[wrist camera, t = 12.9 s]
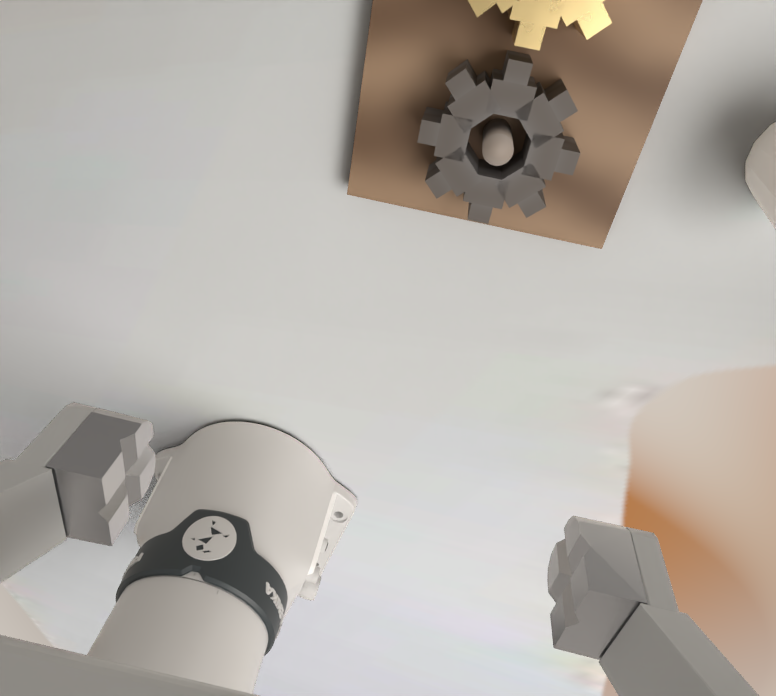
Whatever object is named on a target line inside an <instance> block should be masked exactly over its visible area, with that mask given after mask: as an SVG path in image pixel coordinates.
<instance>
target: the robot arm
mask: <svg viewBox="0 0 776 696" xmlns="http://www.w3.org/2000/svg"><path fill="white" fill-rule="evenodd" d="M153 436H154V433H153V425H152V422H150V421H148V420H144V419H140V418H136V417H132V416H128V415H124V414H120V413H116V412H112V411H109V410H105V409H101V408H95V407H91V406H87V405H83V404H79V403H75V402H73V403H71V404H69V405H67V406H65V407H64V408H63V409H62V410H61V411H60V412H59V413H58V415H57V416H56V417H55V418H54V419H53V420H52V421H51V422H50V423H49V424H48V425H47V426H46V427H45V429H44V430H43V431H42V432H41V433H40V434H39V435H38V436H37V437H36V438H35V439H34V440H33V441H32V443H31V444H30V445H29V446H28V447H27V448H26V449H25V450H24V451H23V452H22V453H21V454H20V455H19V456H18V458H17V459H16V460H10V459H6V460H3V461H1V462H0V583H1V582H3V581H4V580H6V579H7V578H9V577H10V576H12V575H14V574H15V573H17V572H18V571H20V570H21V569H23V568H24V567H26V566H27V565H29V564H30V563H32V562H33V561H35V560H37V559H38V558H40V557H41V556H43V555H44V554H46V553H47V552H49V551H50V550H52V549H53V548H55V547H56V546H58V545H60V544H61V543H63V542H64V541H66V540H67V538H66V537H69V538H74V539H79V540H84V541H89V542H94V543H99V544H104V545H108V546H112V545H113V544H114V542H115V541H116V539H117V537H118V536H119V534H120V533H121V531H122V530H123V528H124V526H125V525H126V523H127V522H128V520H129V519H130V513H129V506H130V505H132V504H134V503H136V502H138V501H140V500H141V499H142V498H143V496H144V495H145V493H146V491H147V490H148V488H149V485H150V483H151V480H152V477H153V475H154V474H155V477H156V480H157V484H156V486H155V487H154V489H153V491H152V493H151V495H150V497H149V499H148V501H147V503H146V505H145V507H144V509H143V511H142V513H141V515H140V517H139V519H138V520H137V523H136V525H135V528H134V533H135V534H136V535H137V542H138V544H139V546H140V549H139V551H138V553H137V554H136V556H135V558H134V559H133V560H132V561H131V563H130V564H129V566H128V567H127V569H126V571H125V573H124V575H123V578H122V582H121V584H120V586H119V588H118V590H117V593H116V605H115V606H114V608H113V610H112V612H111V613H110V615H109V617H108V619H107V620H106V622H105V624H104V626H103V627H102V629H101V631H100V633H99V635H98V636H97V638H96V640H95V642H94V643H93V645H92V647H91V649H90V650H89V652H88V654H87V655H84V654H80V653H75V652H71V651H67V650H63V649H58V648H54V647H50V646H45V645H41V644H37V643H32V642H28V641H24V640H20V639H15V638H11V637H7V636H3V635H0V696H259V695H255V694H253V691H254V688H255V684H256V681H257V677H258V674H259V670H260V667H261V664H262V661H263V657H264V656H265V655H266V654H267V653H268V652H269V651H270V649H271V648H272V646H273V644H274V641H275V639H276V638H277V636H278V634H279V632H280V629H281V626H282V623H283V619H284V617H285V616H286V614H287V613H288V611H289V609H290V607H291V606H292V604H293V602H294V600H295V599H296V597H297V596H298V595H299V597H302V598H304V599H307V600H310V601H312V600H314V599H315V596H316V594H317V591H318V588H319V584H320V581H321V574H322V572H323V570H324V568H325V566H326V564H327V563H328V561H329V559H330V557H331V555H332V553H333V551H334V549H335V548H336V546H337V544H338V542H339V540H340V538H341V536H342V534H343V533H344V531H345V529H346V527H347V525H348V523H349V521H350V519H351V518H352V516H353V514H354V512H355V509H356V506H357V499H356V497H355V496H354V495H353V494H352V493H351V492H350V491H348V490H347V489H346V488H344V487H343V486H342V485H340V484H339V483H337V482H336V481H335V480H334V479H333V478H332V476H331V475H330V473H329V472H328V470H327V469H326V467H325V466H324V464H323V463H322V462H321V460H320V459H319V458H318V457H317V456H316V455H315V454H314V453H313V452H312V451H311V450H310V449H309V448H308V447H306V446H305V445H304V444H302V443H301V442H300V441H298V440H296V439H295V438H293V437H291V436H290V435H288V434H286V433H283V432H281V431H279V430H276V429H274V428H271V427H268V426H264V425H260V424H255V423H249V422H222V423H217V424H213V425H209V426H207V427H204V428H202V429H200V430H198V431H197V432H195V433H194V434H193V435H191V436H190V437H189V438H188V439H187V440H186V441H185V442H184V443H183V444H181V445H179V446H177V447H173V448H169V449H165V450H162V451H160V452H158V453H157V454H156V456H155V452H154V450H153V449H152V448H151V447H150V445H149V442H150V441H151V439H152V438H153ZM564 532H565V539H564V540H562V541H560V542H558V543H556V545H555V547H554V549H553V551H552V554H551V557H550V561H549V566H548V579H547V581H548V592H549V594H550V595H551V597H552V598H553V599H554V601H555V602H556V605H555V607H554V608H553V610H552V612H551V614H550V616H551V626H552V636H553V647H554V648H556V649H560V650H564V651H567V652H571V653H575V654H579V655H583V656H587V657H591V658H594V659H598V660H600V661H599V663H600V665H601V667H602V668H603V670H604V672H605V674H606V675H607V677H608V679H609V680H610V682H611V684H612V685H613V687H614V688H615V690H616V692H617V694H618V695H619V696H759V695H758V694H757V693H756V691H755V690H754V689H753V688H752V687H751V686H750V685H749V684H748V682H747V681H746V680H745V679H744V678H743V677H742V676H741V674H739V672H738V671H737V670H736V669H735V668H734V667H733V665H732V664H731V663H730V662H729V661H728V660H727V659H726V657H725V656H724V655H723V654H722V653H721V652H720V651H719V650H718V649H717V647H716V646H715V645H714V644H713V643H712V642H711V641H710V640H709V638H708V637H707V636H706V635H705V634H704V633H703V631H702V630H701V629H700V628H699V627H698V626H697V625H696V624H695V622H694V621H693V620H692V619H691V618H690V617H689V615H687V614H685V613H681V612H679V610H678V607H677V604H676V600H675V596H674V593H673V590H672V586H671V583H670V579H669V576H668V573H667V569H666V566H665V562H664V559H663V556H662V552H661V549H660V545H659V542H658V538H657V537H656V536H655V534H654V533H651V532H646V531H642V530H637V529H632V528H628V527H623V526H619V525H615V524H610V523H605V522H601V521H596V520H591V519H587V518H582V517H577V516H572V517H571V518H570V519H569V520H568V522H567V524H566V526H565V527H564Z"/></svg>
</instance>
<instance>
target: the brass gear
mask: <svg viewBox="0 0 776 696" xmlns="http://www.w3.org/2000/svg"><path fill="white" fill-rule="evenodd" d="M603 1H604V0H468V2H469V3H470V5H471V7H472V9H473V11H474V12H475V14H476V16H477V17H479V16H480V15H481V14H483V13H484V12H485V11H487V10H488V9H489V8H491V7H492V6H493V5H495V4H496V3H497V5H498V7H499V9H500V10H501V12H502V13H504V12H505V11H506V10H508V11H507V12H508V15H509V19H511V20H515V23H514V27H513V31H512V39H513V43H514V45H515V46H520V47H525V48H529V49H534V50H539V51H540V47H541V43H542V40H543V36H544V33H545V29H546V27H550V28H555V29H557V27H558V24H559V20H561V21H562V22H563V23H564V25H565V26H566V27H567V26H568V25H570V24H571V23H573V24H574V26H575V28H576V30H577V31H578V32H579V33H580V34H581V35H582V36H583V37H584V38H585V39H586V40H588V39H589V38H591V37H592V36H594V35H595V34H596V33H598V32H599V31H601V30H602V29H604V28H605V27H607V26H608V25H610V24H611V23H612V22H611V19H610V17H609V15H608V13H607V11H606V9H605V7H604V4H603Z"/></svg>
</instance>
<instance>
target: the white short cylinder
mask: <svg viewBox="0 0 776 696" xmlns="http://www.w3.org/2000/svg"><path fill="white" fill-rule="evenodd" d="M745 181H746V183H747V185H748V187H749V189H750V191H751V193H752V195H753V197H754V198H755V200H756V201H757V202H758V204H759V205H760V207H761V208H762V210H763V211H764V213H765V214H766V216H767V217H768V219H769V220H770V222H771V223H772V225H773V226H774V228H775V229H776V122H774V123H773V124H771V125H770V126H769V127H768V128H767V129H766V130H765V131H764V132H763V133H762V134H761V136H760V137H759V138H758V139H757V140H756V141H755V142H754V144H753V146H752V148H751V151H750V153H749V155H748V157H747V159H746V162H745Z"/></svg>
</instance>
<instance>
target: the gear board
mask: <svg viewBox="0 0 776 696" xmlns="http://www.w3.org/2000/svg"><path fill="white" fill-rule="evenodd" d="M701 3H702V0H604V1H603V4H604V7H605V9H606V11H607V13H608V15H609V17H610V19H611V22H612V23H611V24H610V25H608V26H607V27H605V28H604V29H602V30H601V31H599V32H598V33H596V34H595V35H594V36H592V37H591V38H589V39H588V40H586V39H585V38H584V37H583V36H582V35H581V34H580V33H579V32H578V31H577V30H576V28H575V26H574V24H573V23H571V24H570V25H568V26H567V27H566V26H565V25H564V23H563V22H562V21H561V20H559V24H558V27H557V29H555V28H550V27H546V29H545V33H544V36H543V40H542V43H541V47H540V51H539V50H534V49H529V48H525V47H520V46H515V45H514V43H513V39H512V31H513V27H514V23H515V20H511V19H509V15H508V12H507V11H508V10H506V11H505V12H504V13H502V12H501V10H500V9H499V7H498V5H497V3H496V4H495V5H493V6H492V7H491V8H489V9H488V10H487V11H485V12H484V13H483V14H481V15H480V16H479V17H477V16H476V14H475V12H474V11H473V9H472V7H471V5H470V3H469V2H468V0H373V3H372V10H371V18H370V25H369V33H368V40H367V48H366V55H365V63H364V71H363V78H362V86H361V93H360V101H359V108H358V116H357V123H356V131H355V138H354V146H353V153H352V161H351V168H350V176H349V183H348V191H347V195H352V196H357V197H361V198H366V199H371V200H375V201H380V202H385V203H389V204H394V205H399V206H403V207H408V208H413V209H417V210H422V211H427V212H432V213H436V214H441V215H446V216H450V217H455V218H460V219H464V220H469V221H474V222H478V223H483V224H488V225H492V226H497V227H502V228H506V229H511V230H516V231H520V232H525V233H530V234H534V235H539V236H544V237H548V238H553V239H558V240H562V241H567V242H572V243H576V244H581V245H586V246H590V247H595V248H600V249H602V247H603V244H604V242H605V239H606V237H607V234H608V232H609V229H610V227H611V224H612V222H613V220H614V217H615V215H616V212H617V210H618V207H619V205H620V202H621V200H622V197H623V195H624V192H625V190H626V188H627V185H628V183H629V180H630V178H631V175H632V173H633V170H634V168H635V165H636V163H637V160H638V158H639V155H640V153H641V151H642V148H643V146H644V143H645V141H646V138H647V136H648V133H649V131H650V128H651V126H652V123H653V121H654V119H655V116H656V114H657V111H658V109H659V106H660V104H661V101H662V99H663V96H664V94H665V91H666V89H667V87H668V84H669V82H670V79H671V77H672V74H673V72H674V69H675V67H676V64H677V62H678V59H679V57H680V55H681V52H682V50H683V47H684V45H685V42H686V40H687V37H688V35H689V32H690V30H691V27H692V25H693V23H694V20H695V18H696V15H697V13H698V10H699V8H700V5H701Z"/></svg>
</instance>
